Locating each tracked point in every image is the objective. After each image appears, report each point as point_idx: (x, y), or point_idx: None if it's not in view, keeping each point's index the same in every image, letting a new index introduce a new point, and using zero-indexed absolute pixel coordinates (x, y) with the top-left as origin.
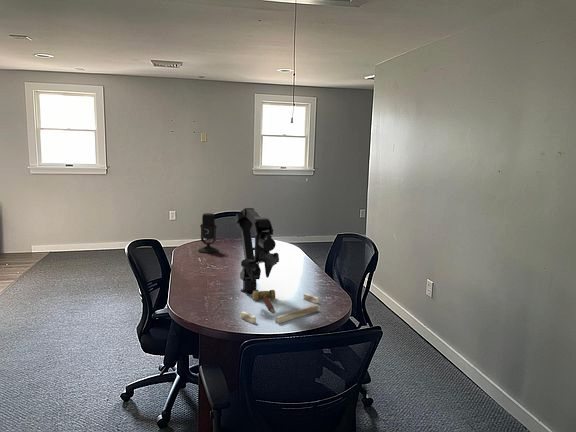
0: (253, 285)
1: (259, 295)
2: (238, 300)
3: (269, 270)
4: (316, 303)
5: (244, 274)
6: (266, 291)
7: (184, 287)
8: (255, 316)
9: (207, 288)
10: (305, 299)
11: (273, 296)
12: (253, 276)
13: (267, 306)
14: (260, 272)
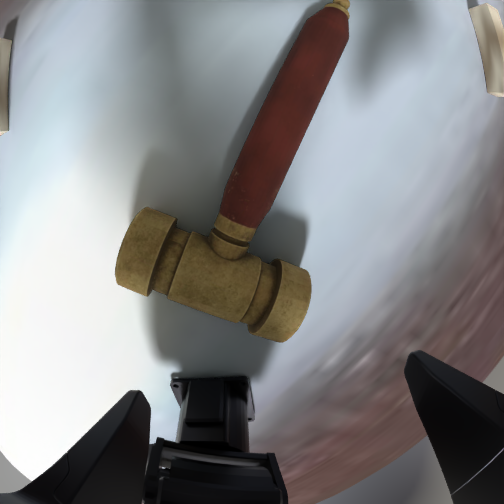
0: (212, 411)
1: (268, 272)
2: (365, 319)
3: (91, 467)
4: (9, 41)
5: (282, 487)
6: (192, 280)
7: (376, 461)
8: (487, 6)
9: (337, 453)
10: (6, 114)
11: (157, 213)
12: (462, 386)
13: (335, 67)
14: (148, 476)
